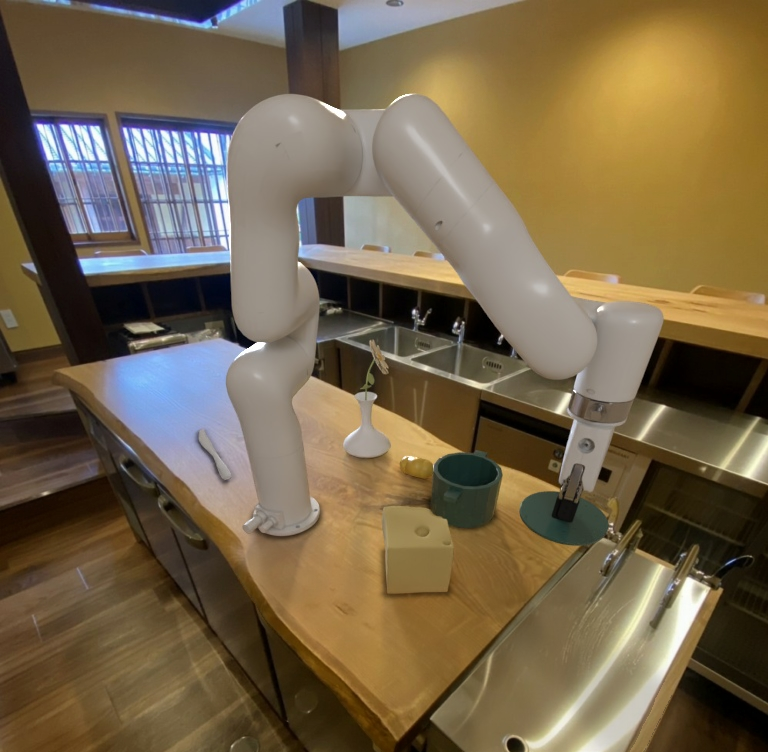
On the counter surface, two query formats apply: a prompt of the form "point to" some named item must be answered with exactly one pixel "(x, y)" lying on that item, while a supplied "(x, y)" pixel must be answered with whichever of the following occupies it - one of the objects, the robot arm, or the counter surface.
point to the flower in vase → (368, 418)
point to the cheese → (416, 550)
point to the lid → (580, 532)
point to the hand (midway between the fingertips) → (564, 511)
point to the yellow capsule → (416, 467)
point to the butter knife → (214, 455)
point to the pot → (465, 488)
